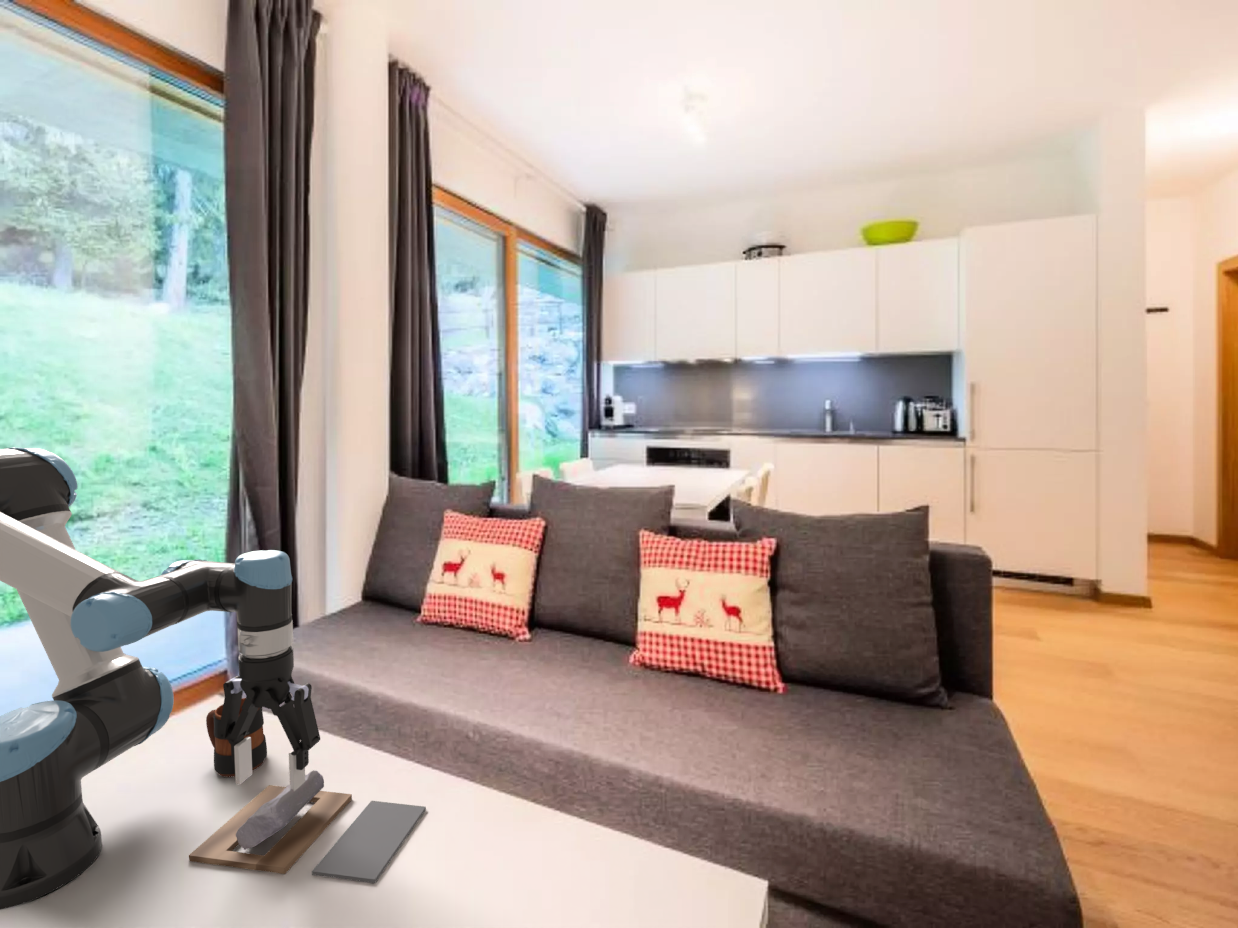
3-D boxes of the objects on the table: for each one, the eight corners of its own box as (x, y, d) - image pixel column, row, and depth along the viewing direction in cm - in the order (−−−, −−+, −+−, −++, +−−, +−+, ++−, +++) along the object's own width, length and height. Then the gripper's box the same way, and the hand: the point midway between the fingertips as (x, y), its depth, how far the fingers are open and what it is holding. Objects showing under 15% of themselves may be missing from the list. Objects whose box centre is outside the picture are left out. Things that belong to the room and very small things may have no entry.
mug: (230, 746, 122) (226, 690, 121) (278, 756, 119) (274, 699, 117) (189, 771, 114) (185, 712, 113) (239, 782, 110) (235, 722, 109)
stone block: (244, 866, 92) (285, 825, 91) (223, 842, 92) (263, 801, 91) (296, 817, 104) (333, 780, 103) (277, 796, 104) (314, 759, 103)
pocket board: (189, 861, 92) (188, 855, 92) (269, 790, 108) (269, 784, 108) (285, 873, 89) (284, 867, 89) (351, 799, 106) (351, 793, 106)
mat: (312, 874, 89) (311, 870, 89) (371, 803, 105) (371, 800, 105) (375, 883, 88) (374, 879, 88) (425, 809, 104) (425, 806, 103)
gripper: (185, 652, 94) (192, 788, 96) (313, 665, 90) (317, 806, 93) (223, 634, 101) (229, 761, 103) (343, 645, 98) (346, 776, 100)
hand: (270, 782), depth 98 cm, fingers open, 9 cm apart
